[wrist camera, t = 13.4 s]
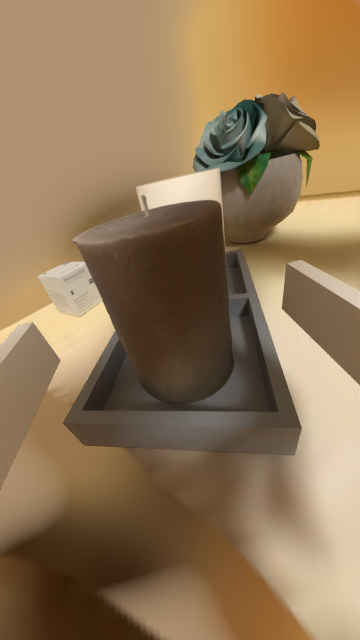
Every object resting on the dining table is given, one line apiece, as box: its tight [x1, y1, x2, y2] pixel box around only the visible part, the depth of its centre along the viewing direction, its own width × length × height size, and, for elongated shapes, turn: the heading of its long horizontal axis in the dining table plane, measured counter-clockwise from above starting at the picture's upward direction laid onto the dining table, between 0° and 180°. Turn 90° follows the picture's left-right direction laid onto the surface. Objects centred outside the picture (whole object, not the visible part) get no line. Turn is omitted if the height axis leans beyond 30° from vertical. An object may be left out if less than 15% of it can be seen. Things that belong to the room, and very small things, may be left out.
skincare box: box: [38, 262, 103, 317], centre depth 37 cm, size 6×6×7 cm
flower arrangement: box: [193, 93, 320, 243], centre depth 45 cm, size 25×25×24 cm
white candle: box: [136, 168, 228, 284], centre depth 29 cm, size 10×10×15 cm
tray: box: [63, 250, 302, 455], centre depth 27 cm, size 16×31×4 cm, turn 173°
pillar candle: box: [72, 195, 234, 404], centre depth 17 cm, size 10×10×15 cm
